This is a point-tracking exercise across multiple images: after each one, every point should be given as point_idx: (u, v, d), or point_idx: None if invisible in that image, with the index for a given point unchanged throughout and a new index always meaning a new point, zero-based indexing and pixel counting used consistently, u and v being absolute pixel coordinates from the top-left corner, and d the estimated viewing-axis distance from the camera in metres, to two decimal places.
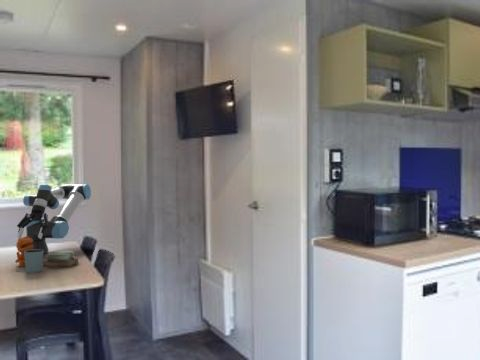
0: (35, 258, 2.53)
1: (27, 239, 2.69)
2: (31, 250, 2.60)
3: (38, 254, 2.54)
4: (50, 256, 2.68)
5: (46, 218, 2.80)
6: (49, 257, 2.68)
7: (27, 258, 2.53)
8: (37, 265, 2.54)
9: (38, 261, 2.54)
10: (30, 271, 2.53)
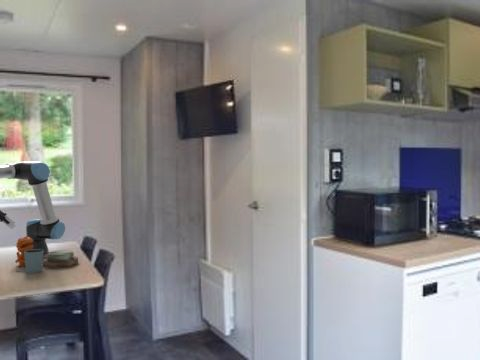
0: (35, 258, 2.53)
1: (27, 239, 2.69)
2: (31, 250, 2.60)
3: (38, 254, 2.54)
4: (50, 256, 2.68)
5: None
6: (49, 257, 2.68)
7: (27, 258, 2.53)
8: (37, 265, 2.54)
9: (38, 261, 2.54)
10: (30, 271, 2.53)
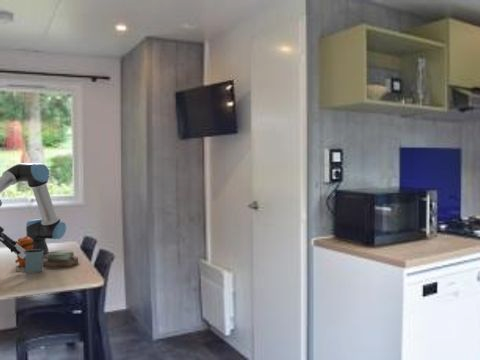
0: (35, 258, 2.53)
1: (27, 239, 2.69)
2: (31, 250, 2.60)
3: (38, 254, 2.54)
4: (50, 256, 2.68)
5: (4, 242, 2.42)
6: (49, 257, 2.68)
7: (27, 258, 2.53)
8: (37, 265, 2.54)
9: (38, 261, 2.54)
10: (30, 271, 2.53)
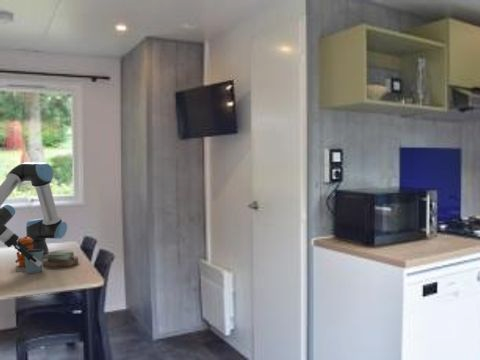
0: None
1: (27, 239, 2.69)
2: (31, 250, 2.60)
3: (38, 254, 2.54)
4: (50, 256, 2.68)
5: (21, 250, 2.48)
6: (49, 257, 2.68)
7: (27, 258, 2.53)
8: None
9: None
10: (30, 271, 2.53)
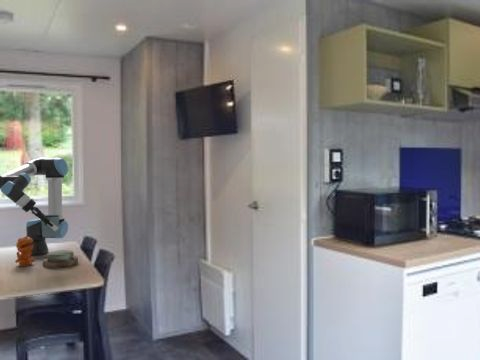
0: None
1: (27, 239, 2.69)
2: (47, 216, 2.69)
3: (54, 219, 2.63)
4: (50, 256, 2.68)
5: (38, 215, 2.57)
6: (49, 257, 2.68)
7: (44, 223, 2.62)
8: (53, 230, 2.63)
9: None
10: (47, 235, 2.62)
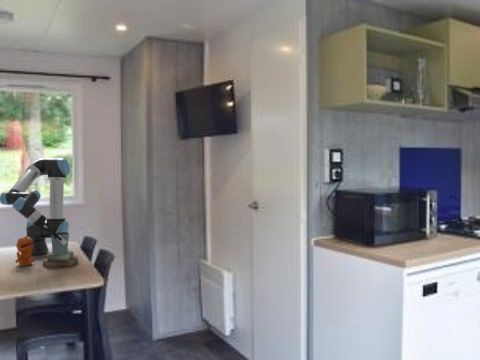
0: None
1: (27, 239, 2.69)
2: (57, 233, 2.77)
3: (64, 236, 2.71)
4: (50, 256, 2.68)
5: (48, 229, 2.63)
6: (49, 257, 2.68)
7: (54, 240, 2.69)
8: (63, 247, 2.71)
9: None
10: (57, 252, 2.70)
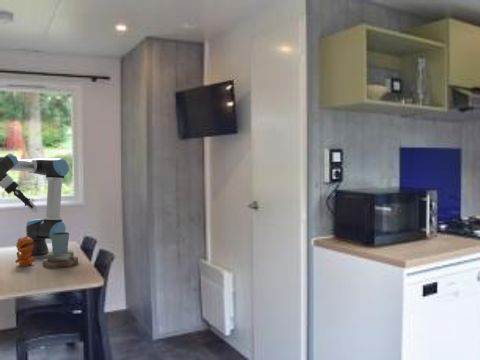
0: (62, 240, 2.70)
1: (27, 239, 2.69)
2: (57, 233, 2.77)
3: (64, 236, 2.71)
4: (50, 256, 2.68)
5: (19, 196, 2.57)
6: (49, 257, 2.68)
7: (54, 240, 2.69)
8: (63, 247, 2.71)
9: (64, 243, 2.71)
10: (57, 252, 2.70)
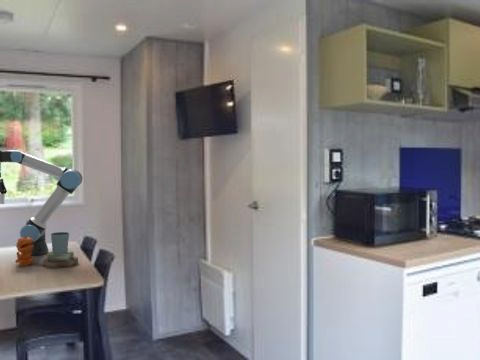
0: (61, 240, 2.70)
1: (27, 239, 2.69)
2: (57, 233, 2.77)
3: (64, 236, 2.71)
4: (50, 256, 2.68)
5: None
6: (49, 257, 2.68)
7: (54, 240, 2.69)
8: (63, 247, 2.71)
9: (64, 243, 2.71)
10: (57, 252, 2.70)
